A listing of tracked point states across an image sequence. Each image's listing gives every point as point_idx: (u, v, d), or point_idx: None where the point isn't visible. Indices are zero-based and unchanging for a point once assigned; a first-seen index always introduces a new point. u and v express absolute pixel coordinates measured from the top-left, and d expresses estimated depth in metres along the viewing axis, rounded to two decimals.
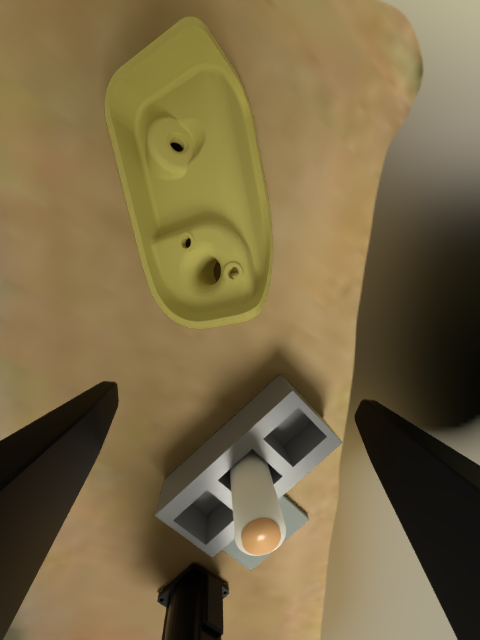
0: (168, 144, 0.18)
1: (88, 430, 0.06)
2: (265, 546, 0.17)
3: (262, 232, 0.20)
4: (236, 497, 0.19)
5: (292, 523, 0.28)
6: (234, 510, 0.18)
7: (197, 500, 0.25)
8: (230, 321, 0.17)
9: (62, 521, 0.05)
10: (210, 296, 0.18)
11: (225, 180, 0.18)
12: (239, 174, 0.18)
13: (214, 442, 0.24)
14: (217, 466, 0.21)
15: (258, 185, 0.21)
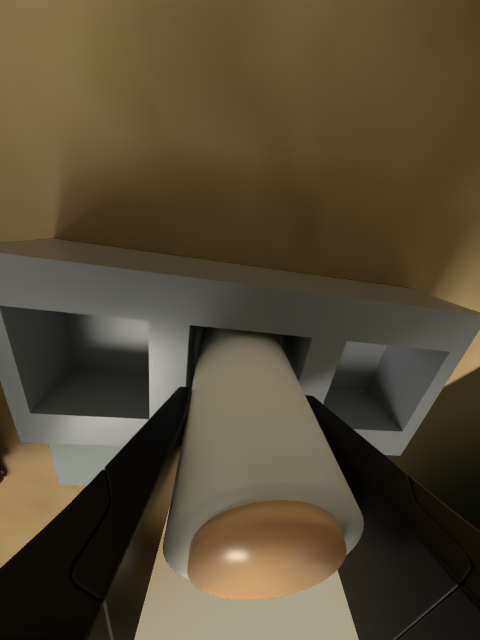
0: None
1: (182, 434, 0.06)
2: (246, 584, 0.04)
3: None
4: (244, 391, 0.06)
5: None
6: (225, 417, 0.05)
7: (83, 331, 0.11)
8: None
9: (165, 521, 0.06)
10: None
11: None
12: None
13: (227, 267, 0.10)
14: (222, 299, 0.08)
15: None
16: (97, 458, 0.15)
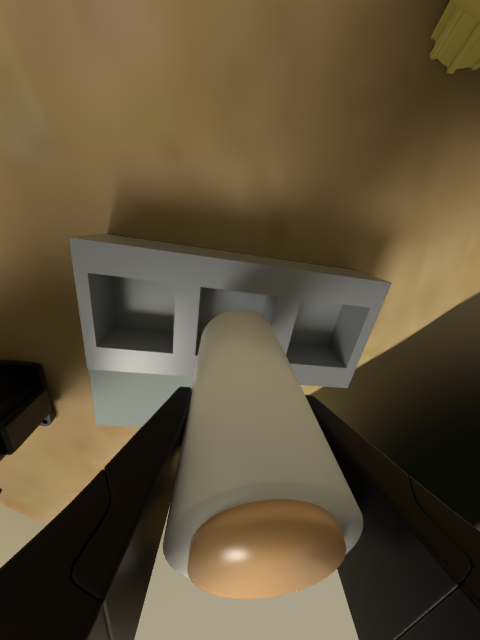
0: None
1: (182, 434, 0.06)
2: (246, 583, 0.04)
3: None
4: (244, 391, 0.06)
5: None
6: (225, 417, 0.05)
7: (125, 299, 0.16)
8: None
9: (165, 521, 0.06)
10: None
11: None
12: None
13: (224, 253, 0.15)
14: (220, 270, 0.12)
15: None
16: (126, 402, 0.20)
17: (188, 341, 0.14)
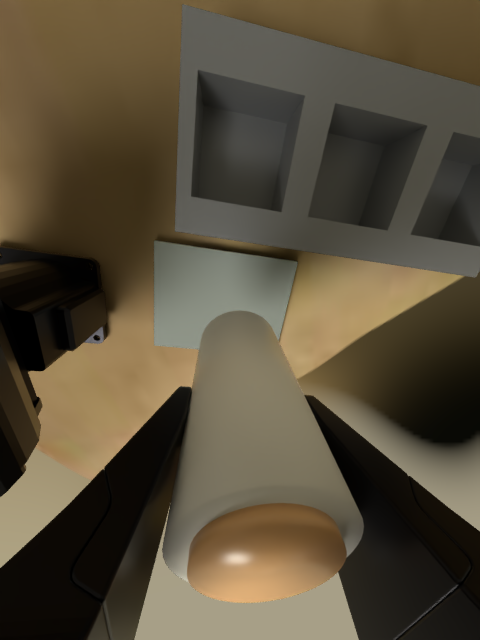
0: None
1: (182, 434, 0.06)
2: (246, 587, 0.04)
3: None
4: (244, 393, 0.06)
5: None
6: (225, 419, 0.05)
7: (211, 160, 0.13)
8: None
9: (165, 521, 0.06)
10: None
11: None
12: None
13: None
14: (365, 75, 0.10)
15: None
16: (191, 315, 0.17)
17: (303, 193, 0.11)
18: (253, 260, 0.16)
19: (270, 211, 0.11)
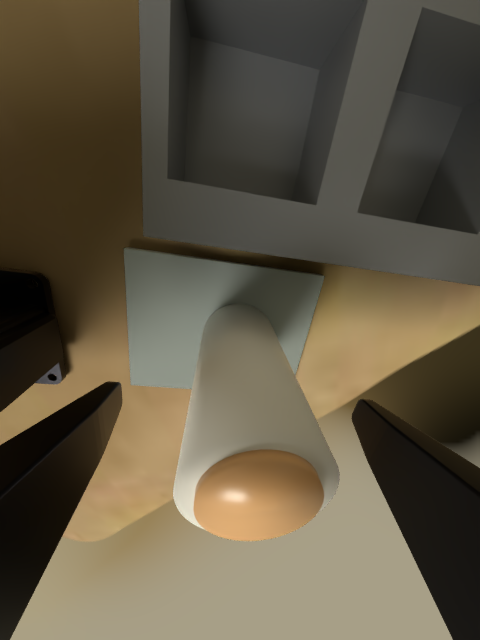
0: None
1: (93, 430, 0.06)
2: (242, 525, 0.05)
3: None
4: (241, 369, 0.07)
5: None
6: (225, 389, 0.06)
7: (204, 128, 0.08)
8: None
9: (67, 521, 0.05)
10: None
11: None
12: None
13: None
14: None
15: None
16: (179, 347, 0.13)
17: (353, 174, 0.07)
18: (263, 274, 0.11)
19: (298, 204, 0.07)
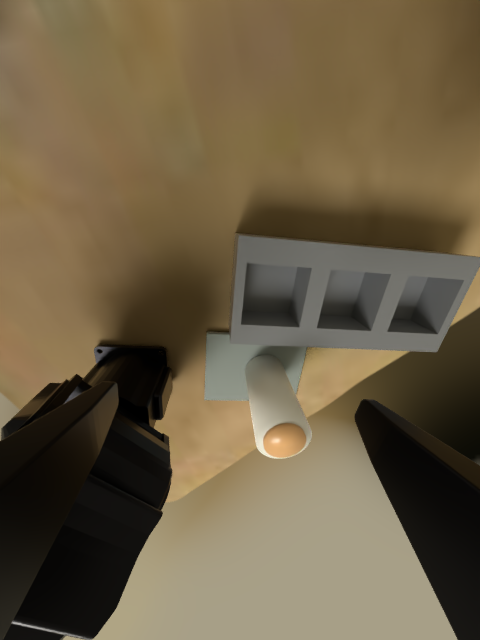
0: None
1: (88, 430, 0.06)
2: (279, 450, 0.16)
3: None
4: (273, 395, 0.17)
5: None
6: (269, 404, 0.16)
7: (248, 286, 0.19)
8: None
9: (61, 522, 0.05)
10: None
11: None
12: None
13: (335, 242, 0.18)
14: (349, 254, 0.15)
15: None
16: (232, 378, 0.23)
17: (313, 316, 0.17)
18: None
19: (292, 327, 0.17)
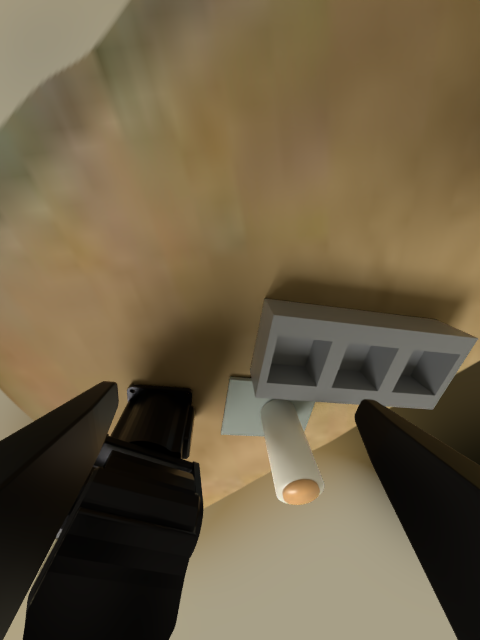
0: None
1: (88, 430, 0.06)
2: (296, 500, 0.18)
3: None
4: (291, 449, 0.19)
5: None
6: (288, 458, 0.19)
7: None
8: None
9: (62, 521, 0.05)
10: None
11: None
12: None
13: (351, 313, 0.20)
14: (365, 332, 0.18)
15: None
16: (248, 417, 0.25)
17: (329, 378, 0.20)
18: None
19: (310, 386, 0.20)
